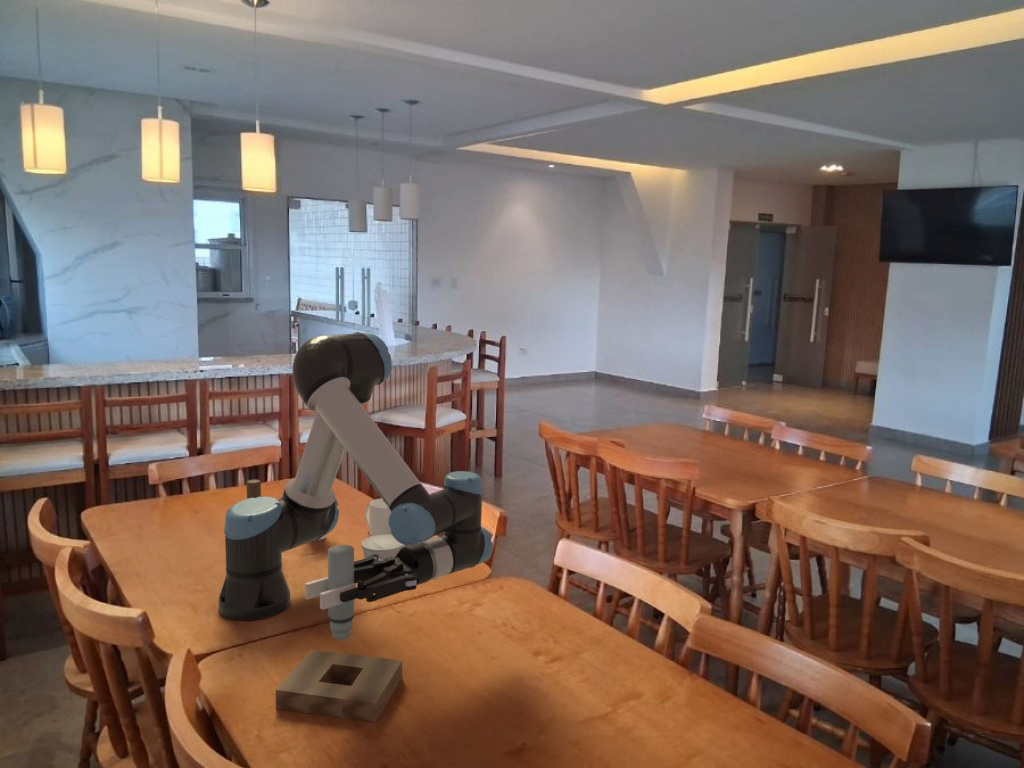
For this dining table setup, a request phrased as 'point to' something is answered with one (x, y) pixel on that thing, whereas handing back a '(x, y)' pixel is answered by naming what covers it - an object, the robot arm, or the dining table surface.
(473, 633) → the dining table surface
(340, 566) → the grey rounded cylinder
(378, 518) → the mug
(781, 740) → the dining table surface
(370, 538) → the ramekin
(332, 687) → the board
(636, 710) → the dining table surface
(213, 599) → the dining table surface
